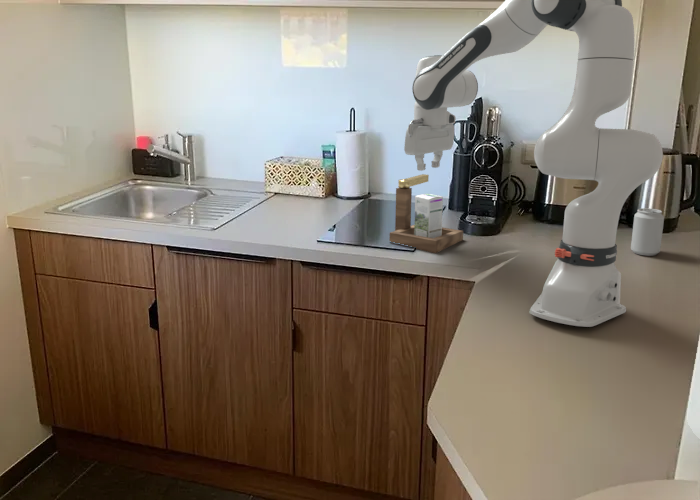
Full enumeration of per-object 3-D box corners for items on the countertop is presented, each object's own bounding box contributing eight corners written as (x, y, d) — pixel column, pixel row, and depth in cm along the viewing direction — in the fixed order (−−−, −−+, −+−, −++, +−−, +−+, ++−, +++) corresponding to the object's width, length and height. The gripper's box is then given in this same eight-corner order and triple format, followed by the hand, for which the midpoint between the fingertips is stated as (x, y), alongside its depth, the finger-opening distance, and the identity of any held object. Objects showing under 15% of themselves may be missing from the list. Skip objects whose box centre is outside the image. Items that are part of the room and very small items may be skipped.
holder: (435, 255, 192) (437, 198, 188) (383, 245, 202) (384, 191, 198) (462, 244, 203) (465, 190, 199) (412, 235, 213) (413, 184, 209)
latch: (406, 188, 201) (406, 181, 200) (396, 187, 202) (396, 180, 202) (430, 181, 212) (430, 174, 212) (420, 180, 214) (420, 174, 213)
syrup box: (442, 246, 201) (444, 195, 197) (427, 250, 197) (429, 198, 194) (427, 242, 205) (429, 192, 201) (412, 245, 201) (414, 195, 198)
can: (662, 257, 192) (667, 213, 188) (632, 255, 193) (637, 212, 190) (656, 250, 199) (661, 207, 196) (628, 248, 200) (632, 206, 197)
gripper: (419, 120, 183) (418, 174, 186) (458, 116, 199) (456, 166, 202) (399, 119, 187) (397, 171, 190) (439, 115, 202) (437, 164, 206)
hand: (428, 168), depth 196 cm, fingers open, 6 cm apart
